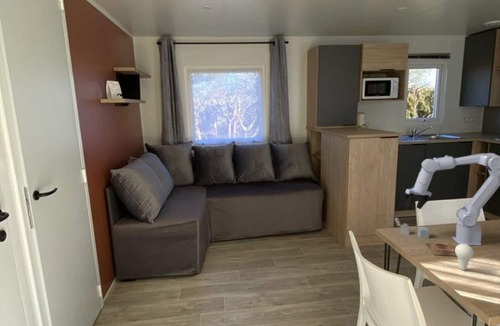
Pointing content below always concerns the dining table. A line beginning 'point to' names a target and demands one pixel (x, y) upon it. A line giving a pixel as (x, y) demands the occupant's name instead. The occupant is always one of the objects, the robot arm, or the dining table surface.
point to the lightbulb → (463, 255)
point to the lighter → (403, 227)
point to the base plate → (442, 249)
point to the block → (423, 232)
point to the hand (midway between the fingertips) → (412, 207)
